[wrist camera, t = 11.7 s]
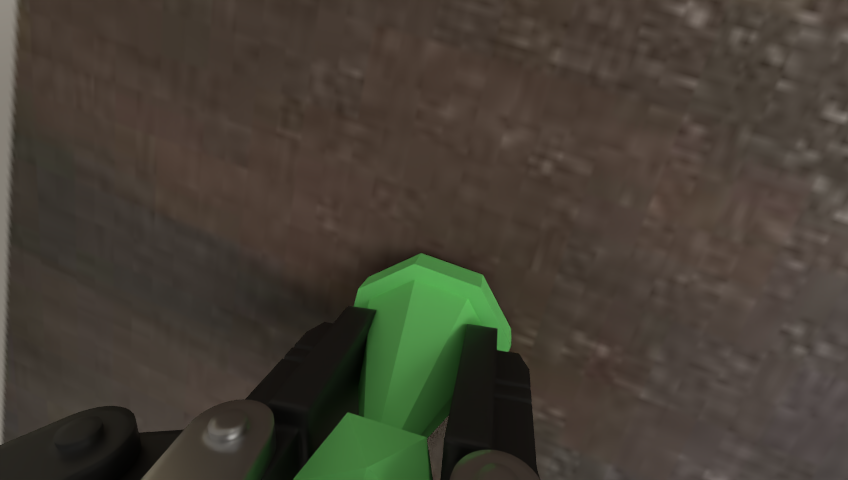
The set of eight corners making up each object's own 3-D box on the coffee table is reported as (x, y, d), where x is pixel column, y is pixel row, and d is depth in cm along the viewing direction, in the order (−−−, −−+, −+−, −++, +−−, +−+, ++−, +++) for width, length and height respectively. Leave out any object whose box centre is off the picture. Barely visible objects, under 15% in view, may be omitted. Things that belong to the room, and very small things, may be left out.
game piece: (547, 329, 10) (594, 608, 4) (440, 420, 12) (374, 710, 6) (417, 219, 10) (293, 365, 4) (326, 326, 11) (147, 537, 6)
